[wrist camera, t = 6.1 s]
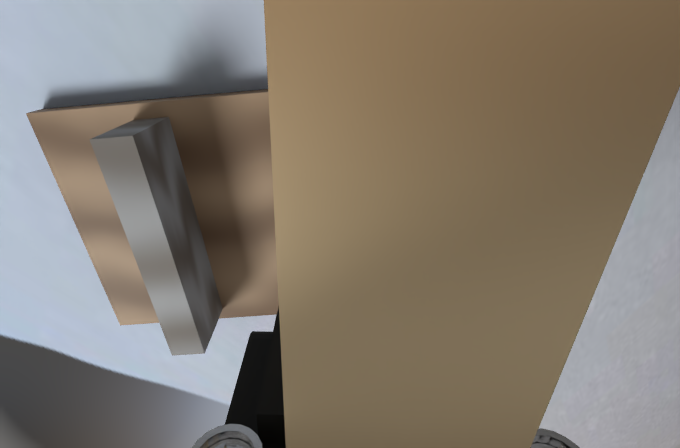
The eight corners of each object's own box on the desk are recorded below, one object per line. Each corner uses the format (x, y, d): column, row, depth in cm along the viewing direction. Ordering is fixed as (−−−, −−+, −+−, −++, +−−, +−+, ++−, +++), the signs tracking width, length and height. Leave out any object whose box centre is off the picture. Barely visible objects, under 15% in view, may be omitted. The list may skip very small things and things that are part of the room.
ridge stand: (41, 109, 26) (-42, 131, 21) (272, 88, 26) (253, 105, 20) (128, 313, 35) (86, 371, 29) (305, 301, 34) (298, 357, 28)
